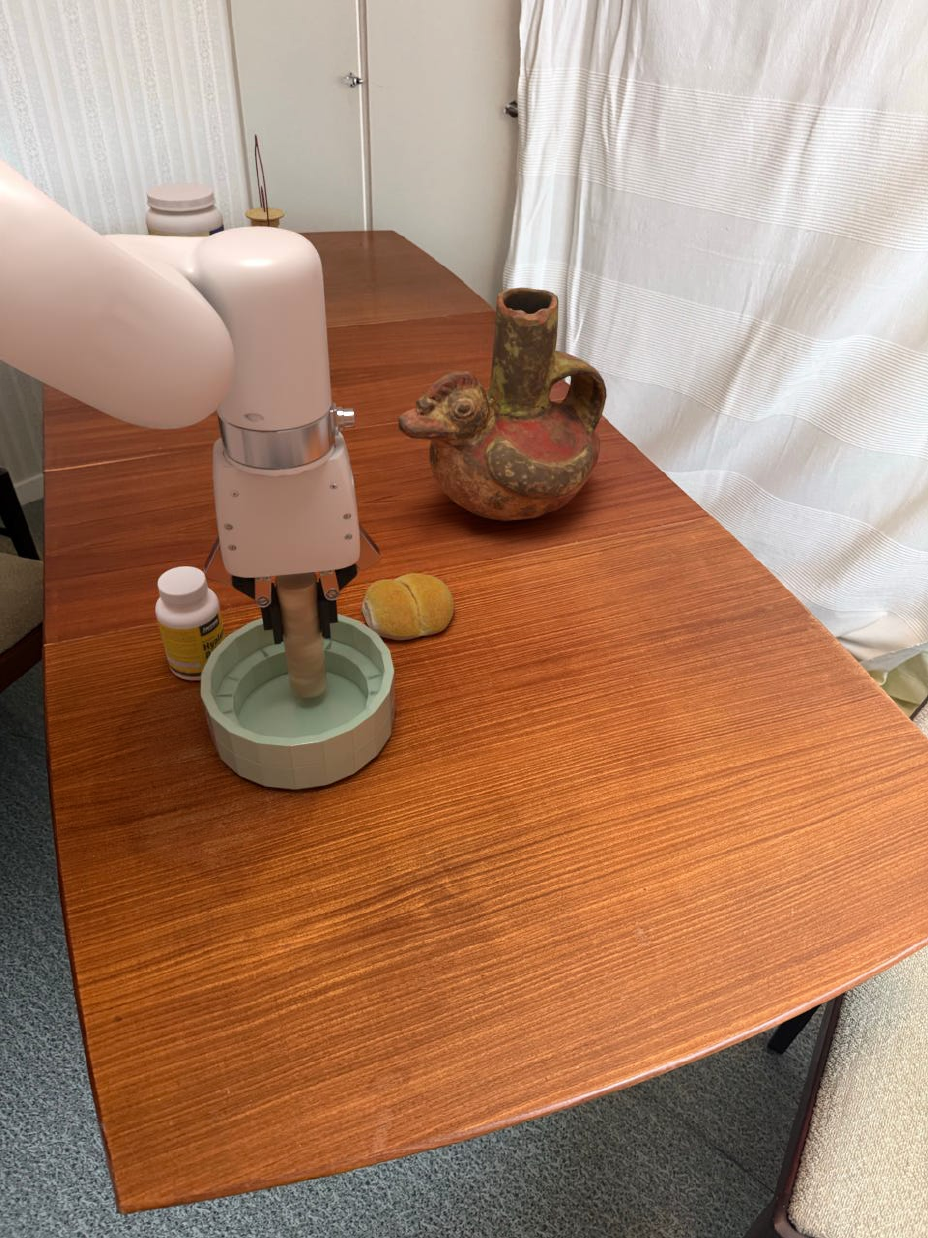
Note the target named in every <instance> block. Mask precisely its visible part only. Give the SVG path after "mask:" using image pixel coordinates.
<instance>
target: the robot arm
mask: <svg viewBox="0 0 928 1238" xmlns="http://www.w3.org/2000/svg"><path fill="white" fill-rule="evenodd" d="M224 230H225V231H222V232H218V233H216V234H213V235H211V236H207V237H179V236H154V235H148V234H136V233H135V234H131V233H127V234H126V233H115V234H114V233H113V234H112V233H111V234H103V235H102V234H100V233H99V232H98V231H96V230H94V229H93V228H92V227H90V226H89V225H88V224H87V223H85V222H83V221H82V220H81V219H80V218H78V217H77V216H75V214H72V213H71V212H70V211H69V210H67V209H66V208H64V207H63V206H62V205H61V204H59V203H58V202H56V201H55V200H54V199H52V198H51V197H50V196H49V195H47V194H46V193H45V192H44V191H42V190H41V189H40V188H39V187H37V186H36V185H35V184H33V183H32V182H31V181H29V180H28V179H27V178H26V177H25V176H23V175H22V174H21V173H20V172H19V171H18V170H16V169H15V168H14V167H13V166H12V165H10V164H9V163H8V162H7V161H6V160H5V159H3V158H2V157H1V156H0V360H1V361H2V362H4V363H6V364H7V365H9V366H11V367H13V368H14V369H17V370H18V371H20V372H22V373H24V374H25V375H27V376H30V377H31V378H33V379H36V380H38V381H39V382H41V383H43V384H45V385H47V386H49V387H50V388H53V389H56V390H57V391H59V392H61V393H63V394H66V395H68V396H69V397H71V398H73V399H76V400H78V401H80V402H82V403H84V404H85V405H88V406H90V407H92V408H94V409H95V410H98V411H100V412H101V413H104V414H105V415H108V416H110V417H111V418H114V419H117V420H119V421H122V422H123V423H128V424H130V425H133V426H137V427H142V428H147V429H151V430H177V429H183V428H186V427H190V426H193V425H196V424H198V423H200V422H201V421H204V420H206V419H207V418H208V417H209V416H211V415H212V414H213V413H214V412H216V415H217V420H218V427H219V432H220V437H219V438H218V439H217V440H215V442H214V444H213V447H212V448H213V449H212V482H213V483H212V485H213V487H212V488H213V497H214V508H215V509H214V510H215V517H216V525H217V533H218V535H217V537H216V540H215V542H214V544H213V546H212V548H211V550H210V552H209V554H208V556H207V558H206V560H205V562H204V571H203V573H204V575H205V577H206V580H208V581H209V580H210V581H213V582H216V583H219V584H223V585H227V586H228V585H230V586H232V588H234V589H235V590H237V591H238V592H240V593H242V594H243V595H245V596H246V597H249V598H250V599H252V600H254V604H255V605H256V607H259V608H260V612H261V618H262V620H263V626H264V631H265V630H273V636H274V643H275V645H276V644H281V642H283V631H282V624H281V617H280V610H279V603H278V598H277V591H276V584H275V582H272V577H276V576H278V575H288V574H299V573H309V572H315V573H317V572H318V576H319V577H317V585H318V602H319V612H320V622H321V632H322V638H324V637H325V639H329V638H331V631H330V623H338V615H337V614H338V604H337V603H338V602H337V600H338V599H339V598H340V596H341V591H342V590H344V588H345V587H347V586H348V585H349V584H350V583H351V582H352V581H353V580H354V579H355V578H356V577H357V576H358V574H359V573H360V572H361V573H362V572H364V571H366V570H368V569H370V568H372V567H373V566H375V565H377V564H379V563H380V561H381V560H382V559H381V558H382V557H381V553H380V549H379V546H378V545H377V543H375V541H374V539H373V538H372V537H371V536H370V535H369V533H367V531H366V530H365V529H364V527H363V526H362V524H361V523H360V522H359V514H358V513H359V512H358V505H357V496H356V489H355V483H354V481H355V480H354V475H353V470H352V464H351V458H350V455H349V454H350V453H349V450H348V447H347V444H346V441H345V437H344V435H343V434H342V431H345V429H355V428H356V420H355V410H354V408H353V407H351V408H350V407H349V408H343V406H337V403H336V402H332V388H331V387H332V385H331V371H330V357H329V343H328V342H329V341H328V330H327V329H328V328H327V315H326V302H325V301H326V300H325V289H324V288H325V286H324V285H325V284H324V274H323V273H324V272H323V266H322V260H321V256H320V254H319V252H318V250H317V248H316V247H315V246H314V244H313V243H312V242H311V241H310V240H309V239H307V238H306V237H305V236H304V235H302V234H299V233H298V232H295V231H292V230H289V229H285V228H281V227H278V228H274V227H259V226H255V227H254V226H241V227H234V228H229V229H224ZM340 431H341V432H340Z"/></svg>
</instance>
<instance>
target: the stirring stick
mask: <svg viewBox="0 0 928 1238" xmlns="http://www.w3.org/2000/svg"><path fill="white" fill-rule="evenodd" d="M317 582H318V577H317V572H309V573H299V574H288V575H278V576H274V585H275V586H276V591H277V598H278V603H279V610H280V617H281V624H282V631H283V640H284V647H285V655H286V662H287V669H288V676H289V683H290V689H291V691H292V692H293V693H294V694H295V695H296V696H298V697H301V698H312V697H316V696H318V695H320V694H321V693H323V692H324V690H325V689H326V687H327V676H326V666H325V656H324V646H323V638H322V632H321V622H320V612H319V602H318V585H317Z"/></svg>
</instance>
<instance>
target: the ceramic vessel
mask: <svg viewBox="0 0 928 1238" xmlns="http://www.w3.org/2000/svg"><path fill="white" fill-rule="evenodd" d="M558 328H559V297H558V295H557V294H555V293H554V292H552V291H549V290H546V289H538V288H537V289H536V288H531V287H514V288H508V289H504V290H502V291H500V292H499V293H498V295H497V296H496V306H495V318H494V335H493V336H494V337H493V348H492V359H491V372H490V380H489V381H490V382H489V389H488V392H487V393H486V391H485V388H484V387H483V385H482V384H481V383H480V381H479V380H478V378H477V377H476V376H475V374H473V373H472V372H470V371H469V370H468V371H467V370H455V371H452V372H448V373H446V374H444V375H443V376H442V377H439V378H438V379H437V380H436V381H435V382H434V383H433V384H431V385H430V387H429V389H428V390H427V392H426V393H425V394H424V395H421V396H420V397H419V398H418V399H417V400H416V401H415V407H414V408H411V409H409V410H407V411H404V412H402V414H401V415H400V416H399V417H398V418H397V422H398V430H399V431H400V432H401V433H403V434H404V435H405V436H407V437H408V438H410V439H414V440H418V439H419V440H420V439H421V440H430V443H429V449H428V459H429V465H430V470H431V473H432V476H433V477H434V479H435V481H436V483H437V485H438V487H439V488H440V489H441V490H442V492H443V493H444V494H445V495H446V496H447V497H448V498H449V499H450V500H452V502H454V503H455V504H457V505H458V506H460V507H461V508H463V509H465V510H466V511H468V512H470V513H471V514H473V515H476V516H478V517H481V518H484V519H489V520H493V521H501V522H508V521H520V520H521V521H522V520H532V519H536V518H539V517H541V516H544V515H545V514H548V513H552V512H556V511H557V510H560V509H561V508H562V507H563V506H566V505H567V504H568V503H570V501H571V500H573V499H574V498H575V497H576V496H577V494H578V493H579V492H580V490H581V489H582V488H583V486H585V484H586V482H587V481H588V479H589V478H590V476H591V475H592V473H593V472H594V469H595V468H596V465H597V463H598V460H599V456H600V451H601V439H600V437H599V436H600V435H598V433H597V432H595V431H596V429H597V427H598V425H599V423H600V420H601V418H602V416H603V412H604V409H605V405H606V401H607V398H608V397H607V387H606V383H605V380H604V378H603V376H602V375H601V374H600V372H599V370H597V368H596V367H594V366H593V365H591V364H590V363H588V362H587V361H584V360H583V359H581V358H579V357H577V356H575V355H573V354H570V353H566V352H564V351H560V350H557V342H558V341H557V340H558ZM569 377H570V380H569V387H568V390H567V393H566V395H565V397H564V398H563V399H562V401H561V402H556V401H552V400H551V398H550V394H551V392H552V388H553V386H554V385H555V384H557V383H559V382H560V381H561V380H564V379H566V378H569Z"/></svg>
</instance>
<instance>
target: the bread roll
mask: <svg viewBox="0 0 928 1238" xmlns="http://www.w3.org/2000/svg"><path fill="white" fill-rule="evenodd" d="M365 590H366V591H365V592H364V595H365V596H364V597H363V602H362V605H361V610H362V614H363V617H364V620H365V624H367V627H369V628H370V629H372V630H373V631H375V632H376V633H377V634H378V635H379V637H380V638H384V639H385V638H386V639H389V640H395V641H405V640H406V641H407V640H413V639H416V638H419V637H421V636H422V637H423V636H424V637H425V636H432V635H435V634H438V633H441V632H442V631H444V630H445V629H446V628H447V627H448V625H449V624H450V622H451V620H452V618H453V616H454V615H453V614H454V610H455V600H454V597H453V595H452V592H451V590H450V589H449V587H448V586H447V584H445V583H444V581H442V580H441V579H440V578H437V577H436V576H432V575H430V574H424V573H419V572H418V573H415V572H410V573H406V574H403V575H401V576H399V577H397V578H394V579H387V578H385V579H383V578H382V579H379V580H376V581H374V582H373V583H372V584H371V585H369V587H368V588H367V589H365Z"/></svg>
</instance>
